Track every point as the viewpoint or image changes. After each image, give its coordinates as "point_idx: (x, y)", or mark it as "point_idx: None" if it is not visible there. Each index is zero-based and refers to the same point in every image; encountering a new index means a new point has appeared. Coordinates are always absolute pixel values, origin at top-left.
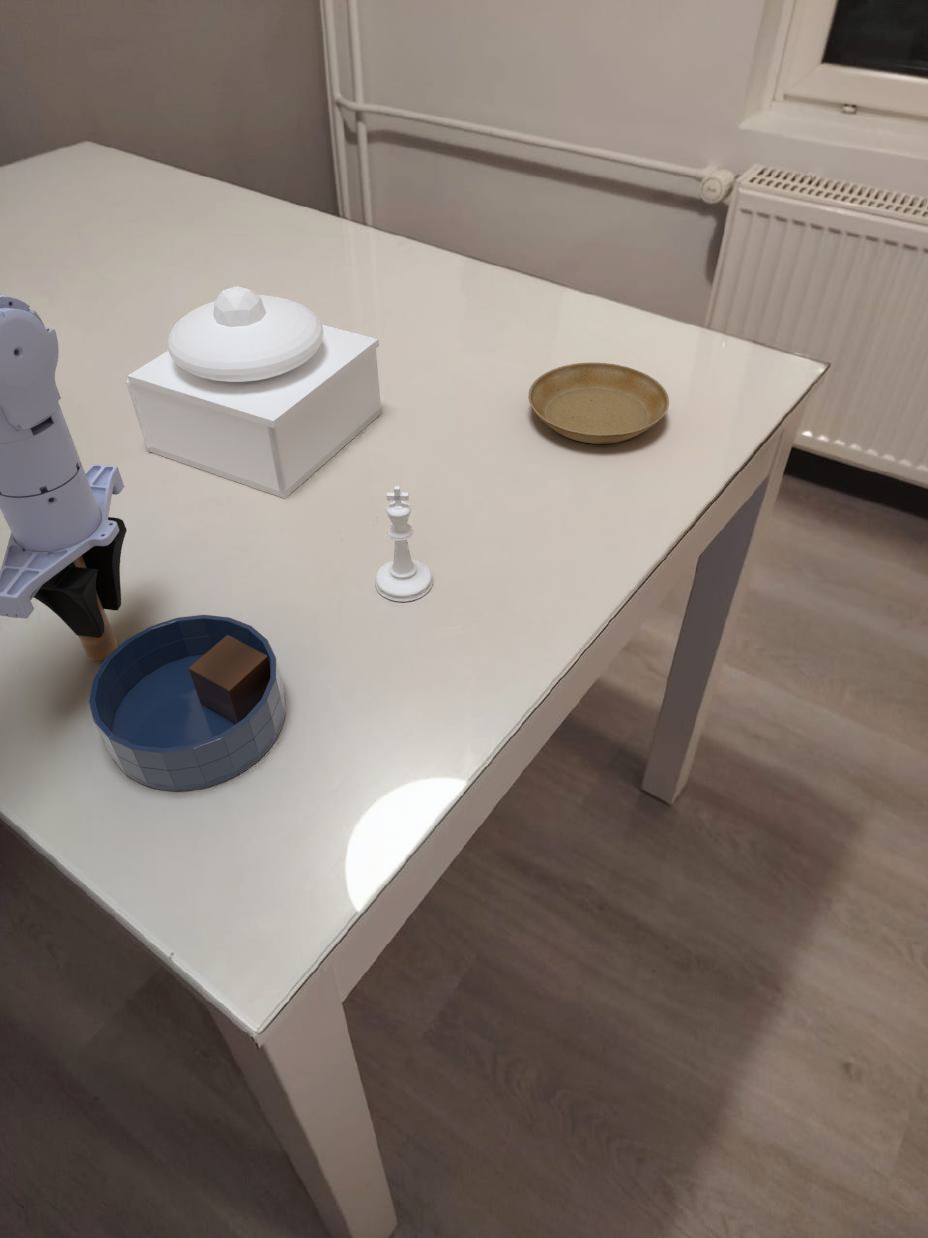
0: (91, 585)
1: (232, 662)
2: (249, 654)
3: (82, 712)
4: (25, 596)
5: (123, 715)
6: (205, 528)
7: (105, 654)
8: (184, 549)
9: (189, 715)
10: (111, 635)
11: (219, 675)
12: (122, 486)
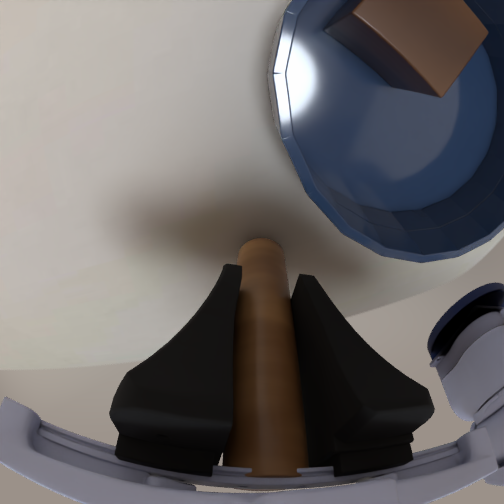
0: (372, 379)
1: (433, 11)
2: None
3: (364, 250)
4: (486, 462)
5: (394, 199)
6: (6, 186)
7: (282, 251)
8: (40, 200)
9: (412, 104)
10: (263, 255)
11: (462, 41)
12: (8, 405)
